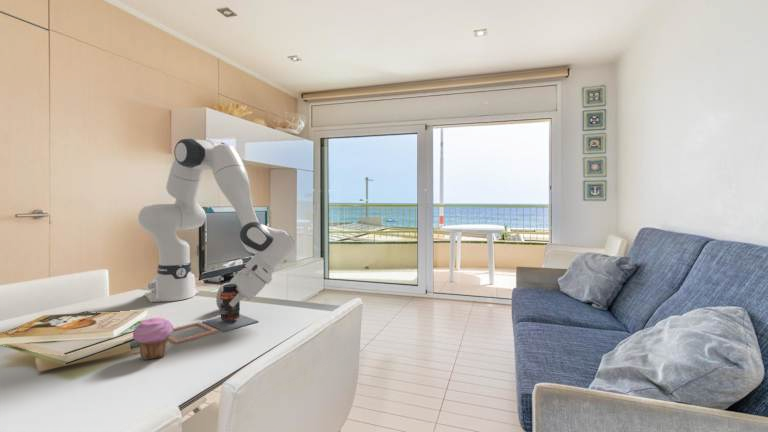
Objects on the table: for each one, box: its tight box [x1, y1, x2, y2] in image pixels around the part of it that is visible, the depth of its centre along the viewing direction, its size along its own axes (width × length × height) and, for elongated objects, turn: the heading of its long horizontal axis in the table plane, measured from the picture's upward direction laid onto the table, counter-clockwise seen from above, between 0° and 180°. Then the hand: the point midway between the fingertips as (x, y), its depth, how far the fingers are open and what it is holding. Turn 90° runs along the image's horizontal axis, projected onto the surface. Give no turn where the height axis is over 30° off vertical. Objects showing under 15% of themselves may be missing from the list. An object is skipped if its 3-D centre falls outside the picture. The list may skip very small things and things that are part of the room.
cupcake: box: [132, 317, 174, 361], centre depth 93 cm, size 9×9×10 cm
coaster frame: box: [168, 321, 219, 344], centre depth 110 cm, size 12×12×1 cm
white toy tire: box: [216, 282, 230, 311], centre depth 133 cm, size 10×4×10 cm, turn 179°
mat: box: [201, 313, 259, 333], centre depth 120 cm, size 14×12×1 cm
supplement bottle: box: [219, 283, 241, 321], centre depth 119 cm, size 6×6×11 cm
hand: (228, 302), depth 119 cm, fingers closed on supplement bottle, 6 cm apart
